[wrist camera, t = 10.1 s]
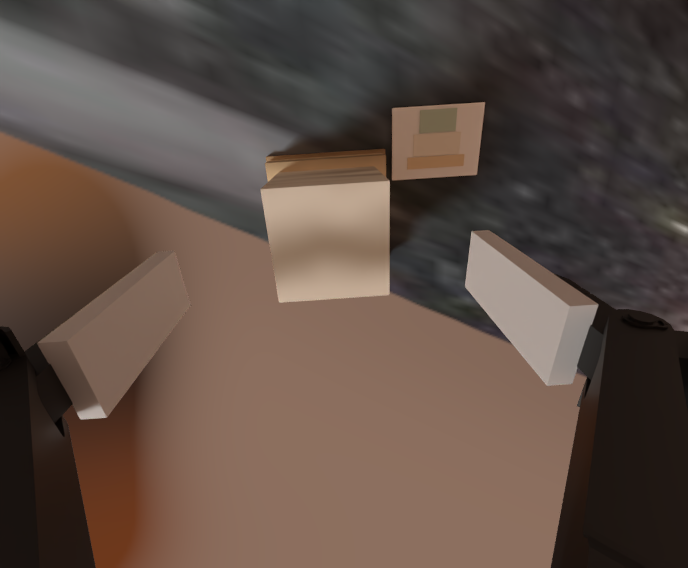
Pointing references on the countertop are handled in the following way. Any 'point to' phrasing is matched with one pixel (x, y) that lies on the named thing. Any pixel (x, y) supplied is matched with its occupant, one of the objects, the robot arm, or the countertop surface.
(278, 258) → the birch brick
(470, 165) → the page
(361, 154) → the base
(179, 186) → the countertop surface
